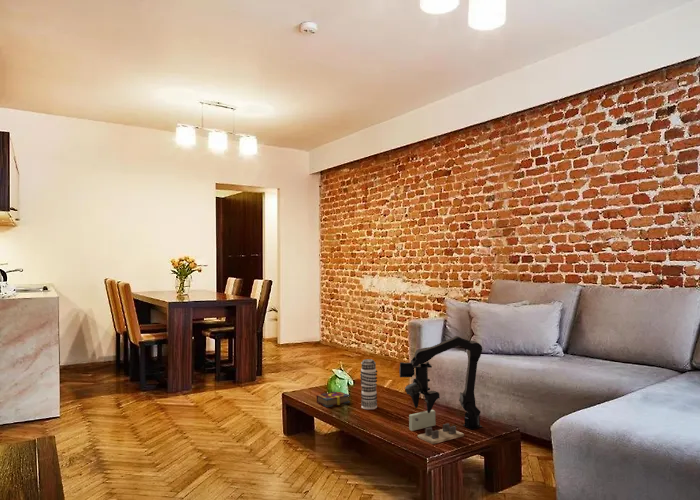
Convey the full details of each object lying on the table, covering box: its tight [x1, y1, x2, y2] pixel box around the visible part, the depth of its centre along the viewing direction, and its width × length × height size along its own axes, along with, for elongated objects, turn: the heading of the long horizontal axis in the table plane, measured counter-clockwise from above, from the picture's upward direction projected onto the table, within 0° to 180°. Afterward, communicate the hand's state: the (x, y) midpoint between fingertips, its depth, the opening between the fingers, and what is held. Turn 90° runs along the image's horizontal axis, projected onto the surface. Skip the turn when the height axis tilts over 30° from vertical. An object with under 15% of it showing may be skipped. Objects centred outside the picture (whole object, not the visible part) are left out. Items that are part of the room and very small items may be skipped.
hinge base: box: [417, 422, 465, 445], centre depth 223 cm, size 18×10×4 cm, turn 121°
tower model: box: [359, 358, 378, 410], centre depth 269 cm, size 9×9×25 cm
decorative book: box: [316, 390, 351, 408], centre depth 279 cm, size 11×16×5 cm
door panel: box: [408, 409, 436, 432], centre depth 235 cm, size 14×3×7 cm, turn 121°
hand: (422, 410), depth 235 cm, fingers open, 9 cm apart
